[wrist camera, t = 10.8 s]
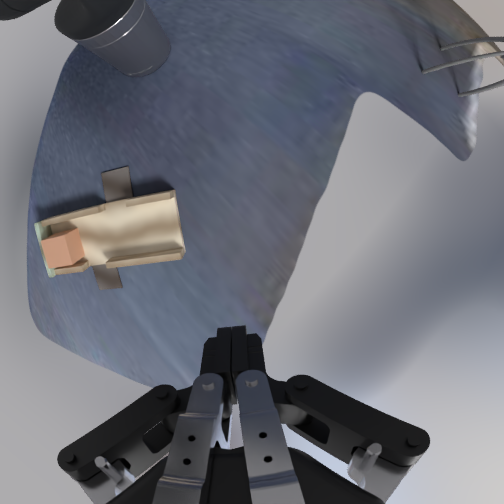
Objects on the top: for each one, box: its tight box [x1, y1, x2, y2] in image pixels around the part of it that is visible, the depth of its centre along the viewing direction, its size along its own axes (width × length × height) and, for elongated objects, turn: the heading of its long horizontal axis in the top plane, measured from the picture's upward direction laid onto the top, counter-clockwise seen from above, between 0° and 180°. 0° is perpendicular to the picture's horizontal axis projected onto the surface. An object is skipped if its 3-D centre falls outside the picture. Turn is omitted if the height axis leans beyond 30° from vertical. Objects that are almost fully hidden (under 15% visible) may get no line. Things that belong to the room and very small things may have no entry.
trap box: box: [34, 166, 186, 290], centre depth 39 cm, size 20×26×4 cm
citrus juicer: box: [422, 37, 504, 97], centre depth 20 cm, size 11×10×30 cm
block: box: [41, 228, 85, 269], centre depth 38 cm, size 5×6×4 cm
